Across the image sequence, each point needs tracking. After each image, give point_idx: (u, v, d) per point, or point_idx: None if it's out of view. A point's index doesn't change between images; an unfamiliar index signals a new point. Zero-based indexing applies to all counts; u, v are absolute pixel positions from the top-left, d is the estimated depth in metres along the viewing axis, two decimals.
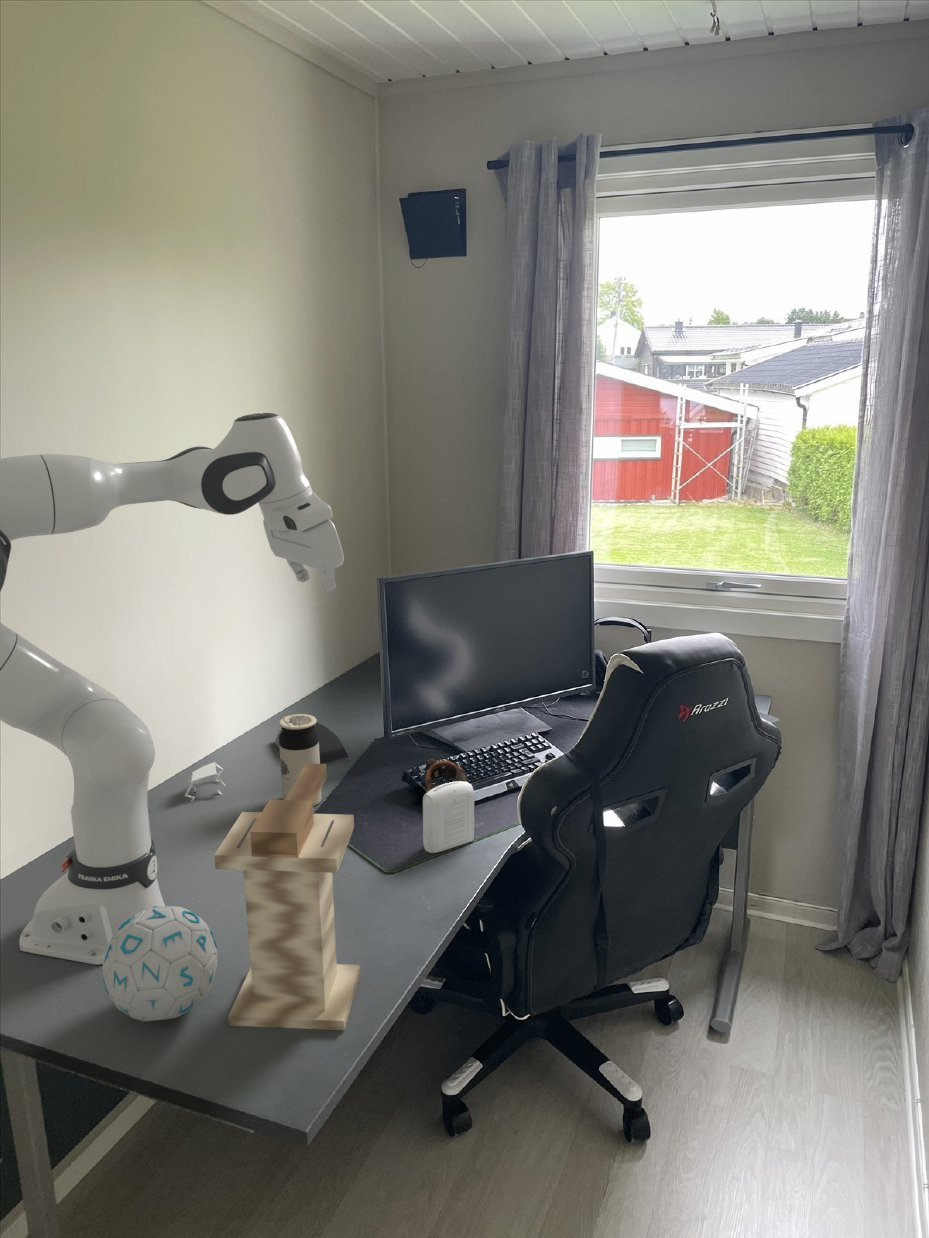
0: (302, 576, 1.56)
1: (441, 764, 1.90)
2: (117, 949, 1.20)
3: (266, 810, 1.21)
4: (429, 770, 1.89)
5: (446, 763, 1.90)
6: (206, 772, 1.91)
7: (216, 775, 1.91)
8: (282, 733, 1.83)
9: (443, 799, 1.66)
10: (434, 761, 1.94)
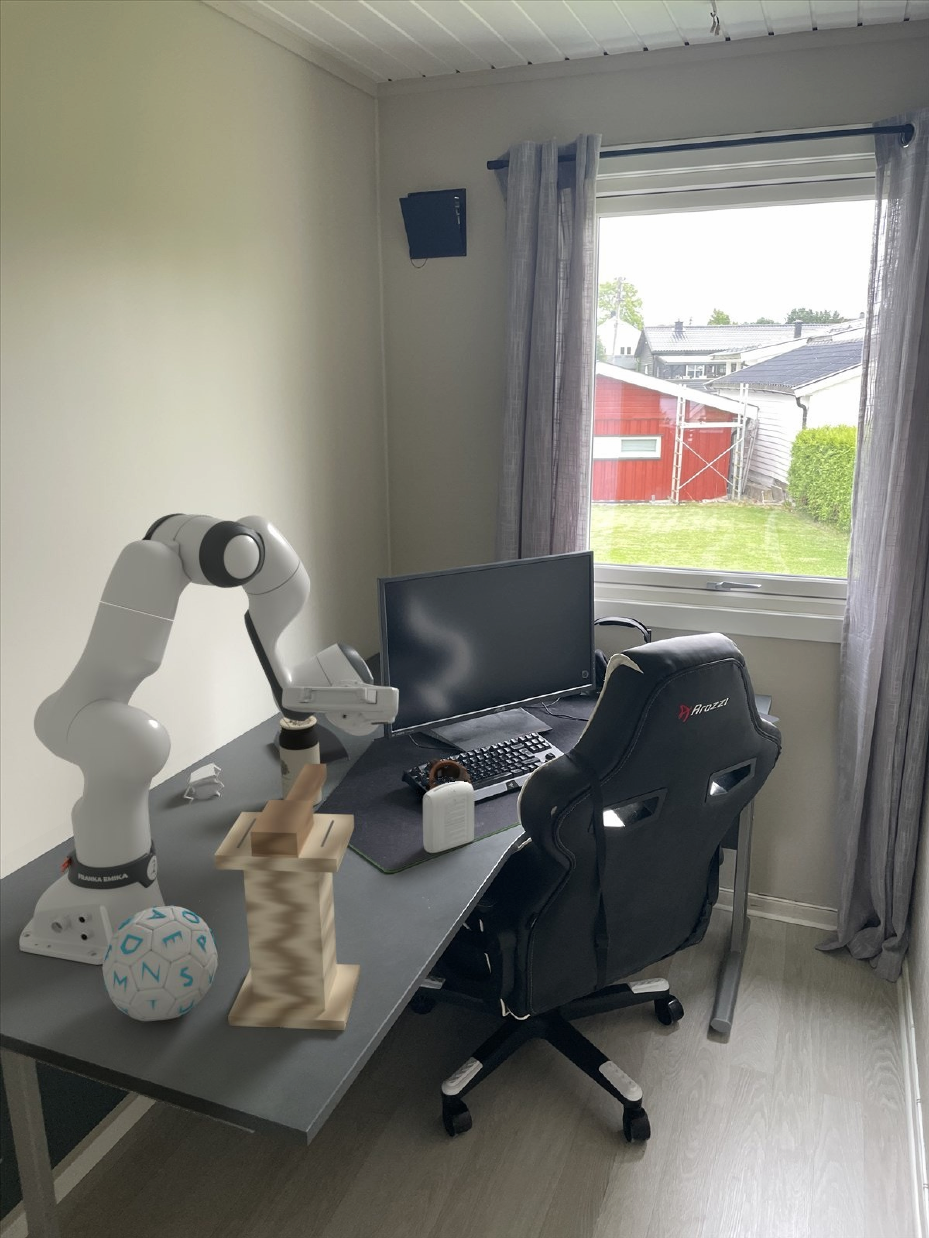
0: (310, 691, 1.52)
1: (444, 763, 1.91)
2: (117, 949, 1.20)
3: (266, 810, 1.21)
4: (432, 770, 1.90)
5: (449, 762, 1.90)
6: (204, 773, 1.91)
7: (215, 776, 1.90)
8: (282, 733, 1.83)
9: (443, 799, 1.66)
10: (437, 761, 1.94)
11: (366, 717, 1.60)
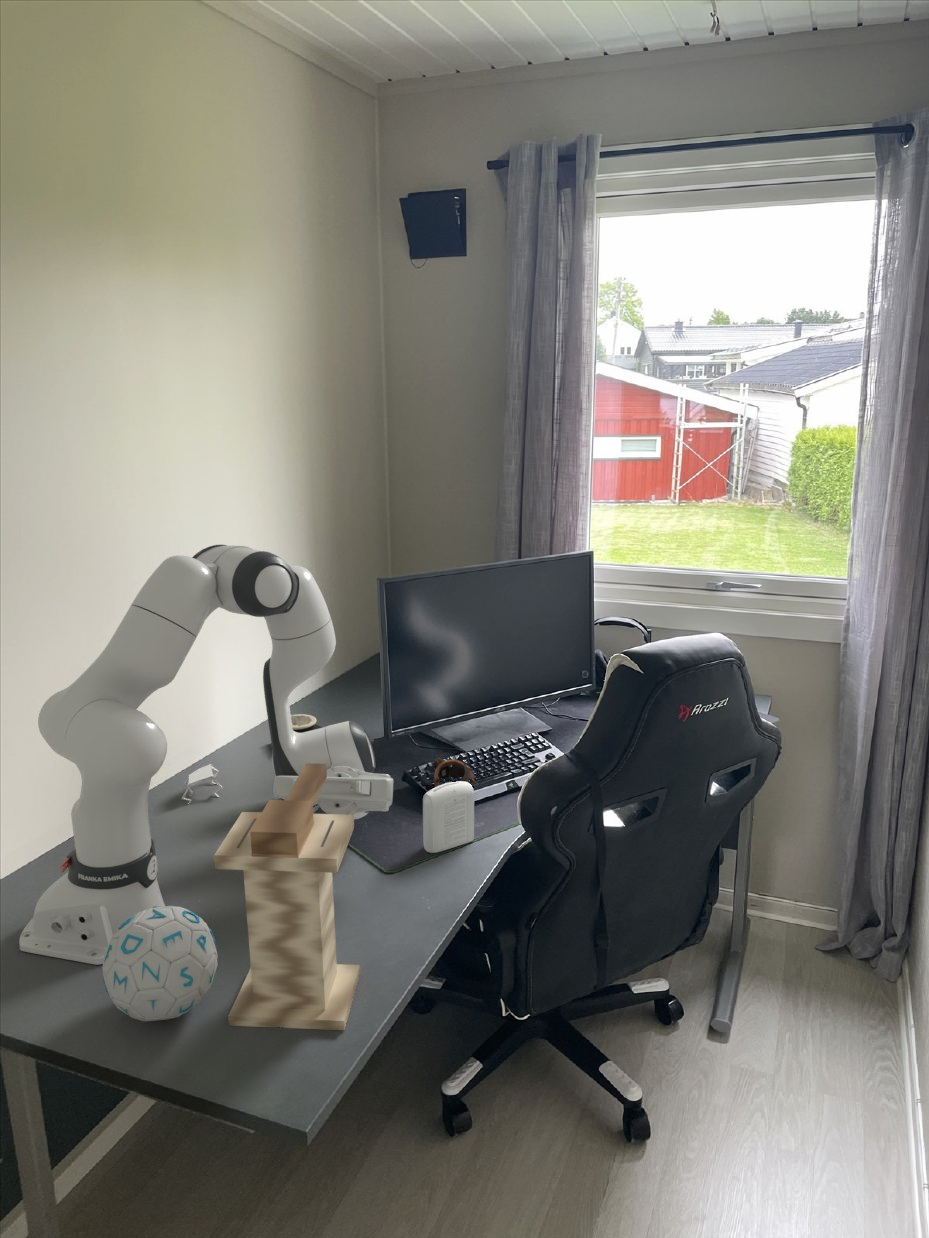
0: None
1: (449, 763, 1.91)
2: (117, 949, 1.20)
3: (266, 810, 1.21)
4: (437, 769, 1.90)
5: (454, 762, 1.91)
6: (203, 774, 1.90)
7: (213, 777, 1.90)
8: None
9: (443, 799, 1.66)
10: (441, 760, 1.94)
11: (360, 806, 1.56)
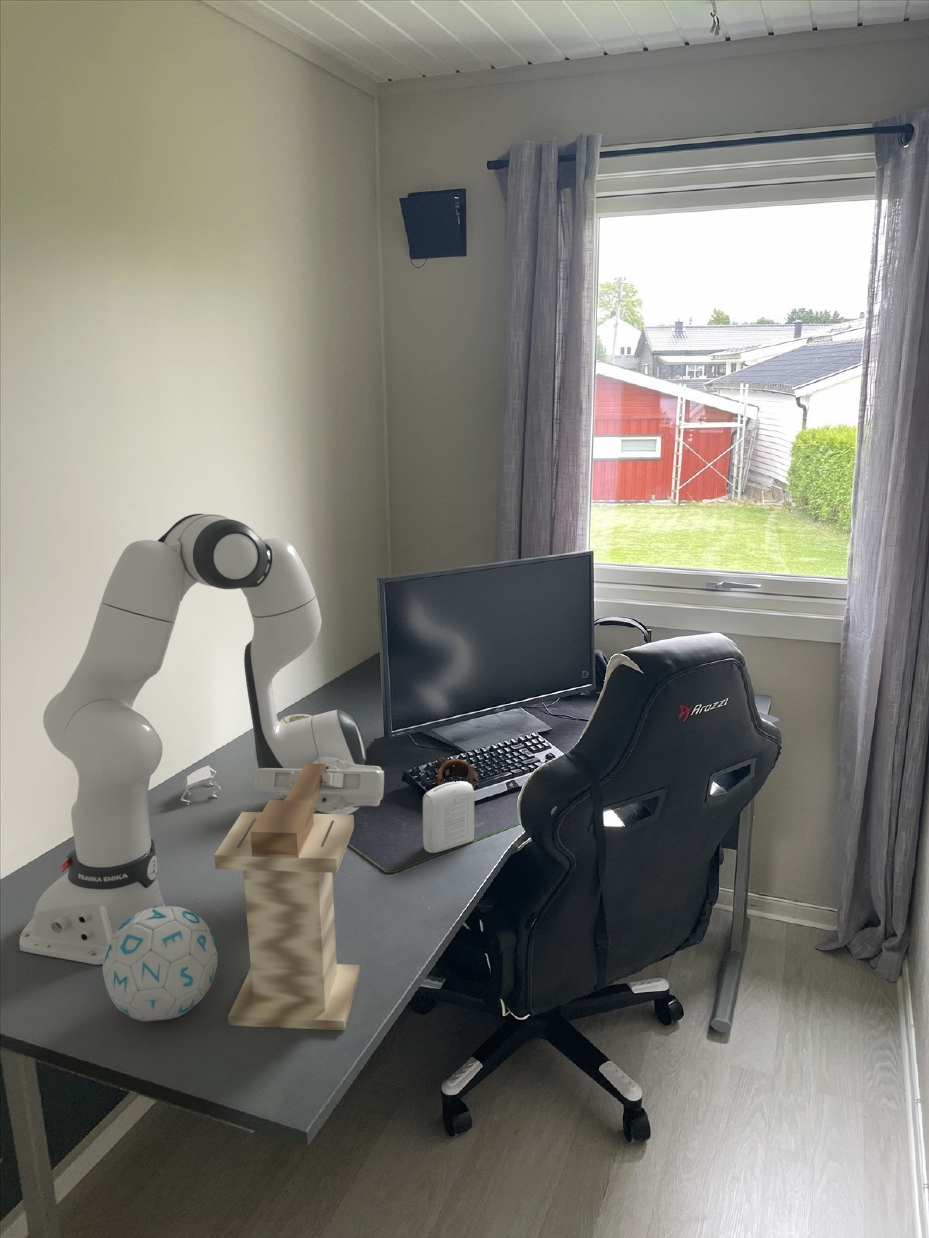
0: None
1: (452, 762, 1.91)
2: (117, 949, 1.20)
3: (266, 810, 1.21)
4: (441, 768, 1.90)
5: (457, 761, 1.91)
6: (201, 776, 1.89)
7: (211, 778, 1.89)
8: None
9: (443, 799, 1.66)
10: (445, 759, 1.94)
11: (348, 800, 1.45)
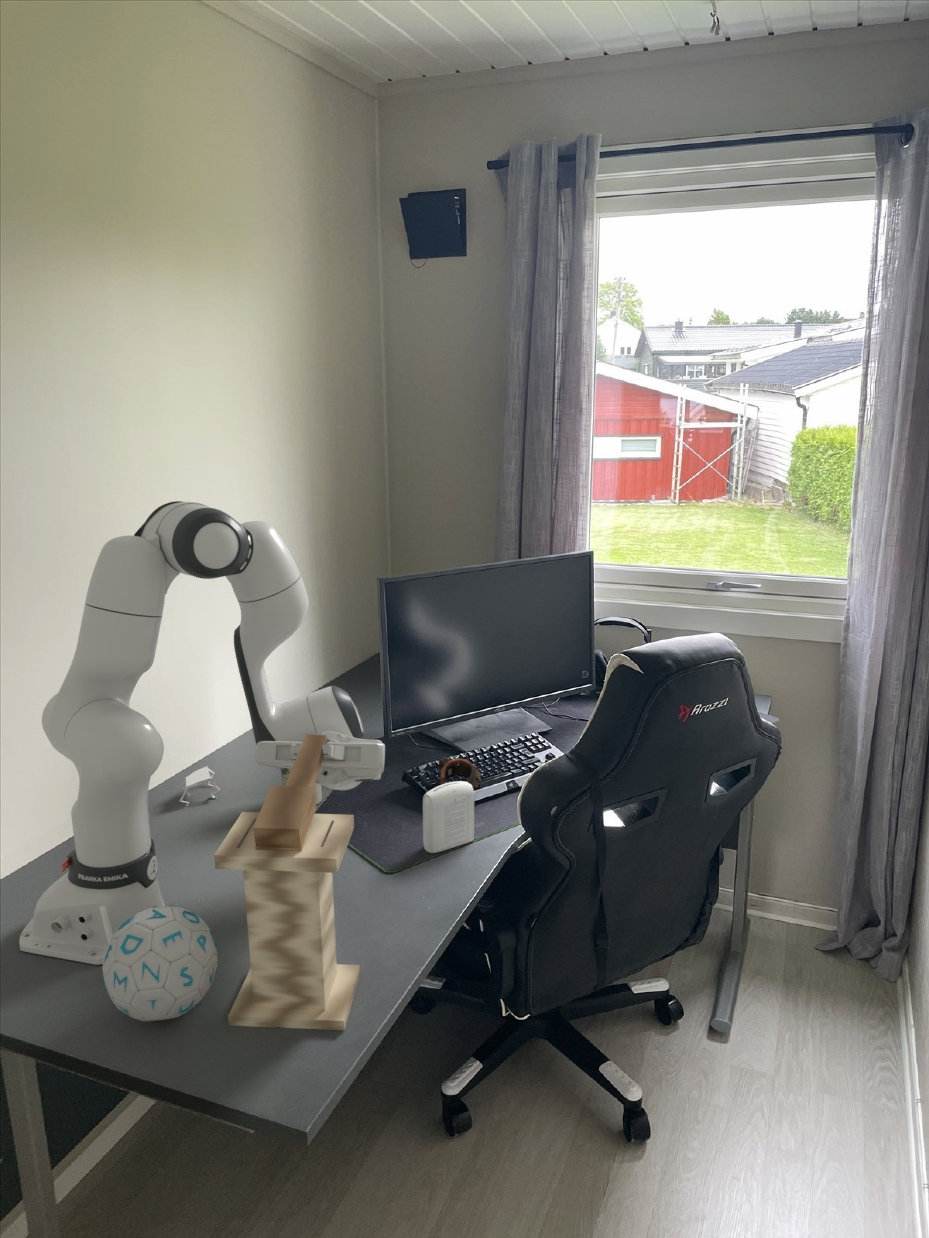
0: None
1: (455, 762, 1.91)
2: (117, 949, 1.20)
3: (268, 800, 1.22)
4: (444, 768, 1.90)
5: (460, 761, 1.91)
6: (200, 777, 1.89)
7: (210, 779, 1.89)
8: None
9: (443, 799, 1.66)
10: (447, 759, 1.95)
11: (349, 774, 1.45)
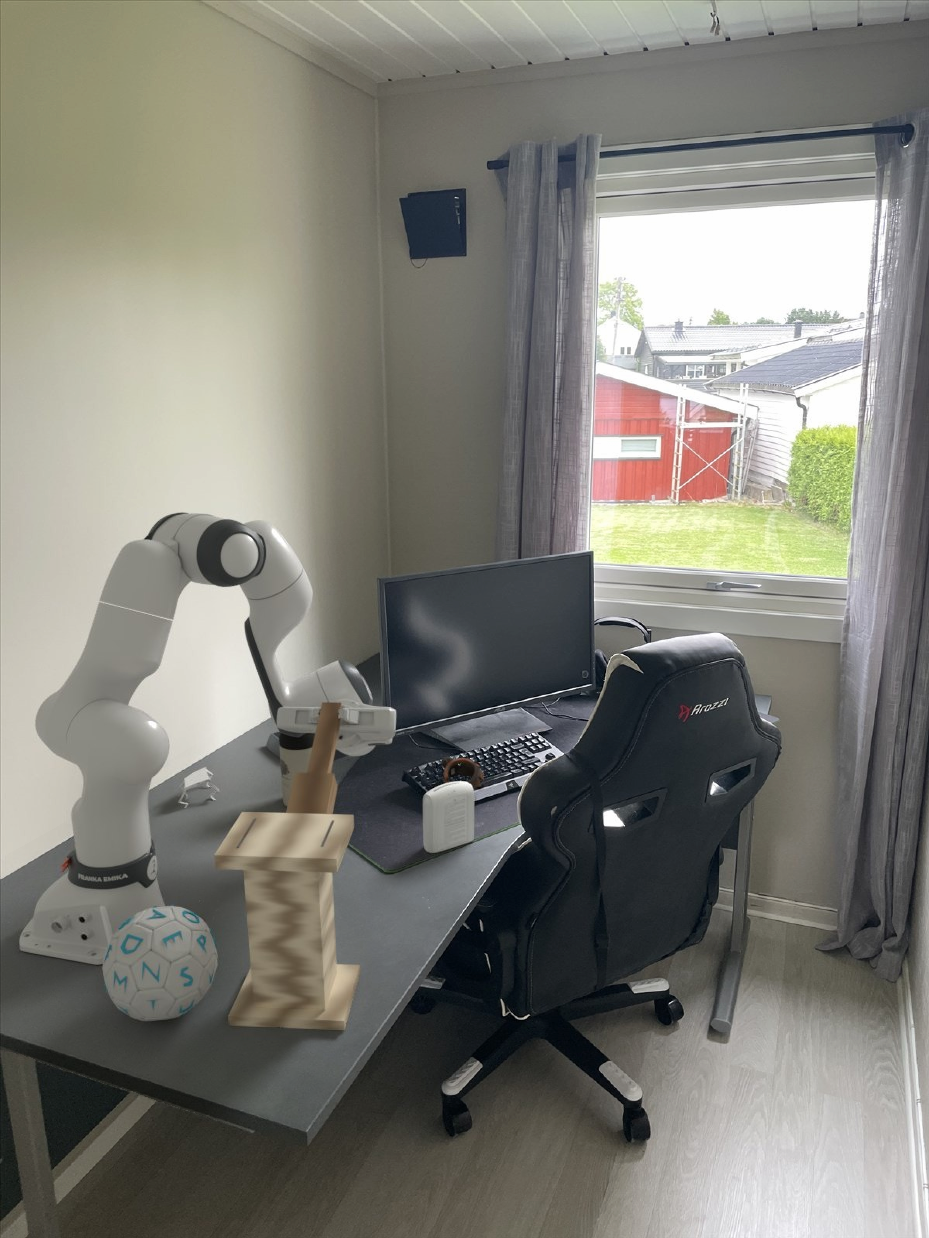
0: None
1: (458, 761, 1.92)
2: (117, 949, 1.20)
3: (294, 789, 1.36)
4: (447, 768, 1.91)
5: (463, 760, 1.91)
6: (198, 778, 1.89)
7: (209, 780, 1.88)
8: (282, 733, 1.83)
9: (443, 799, 1.66)
10: (450, 759, 1.95)
11: (363, 738, 1.57)
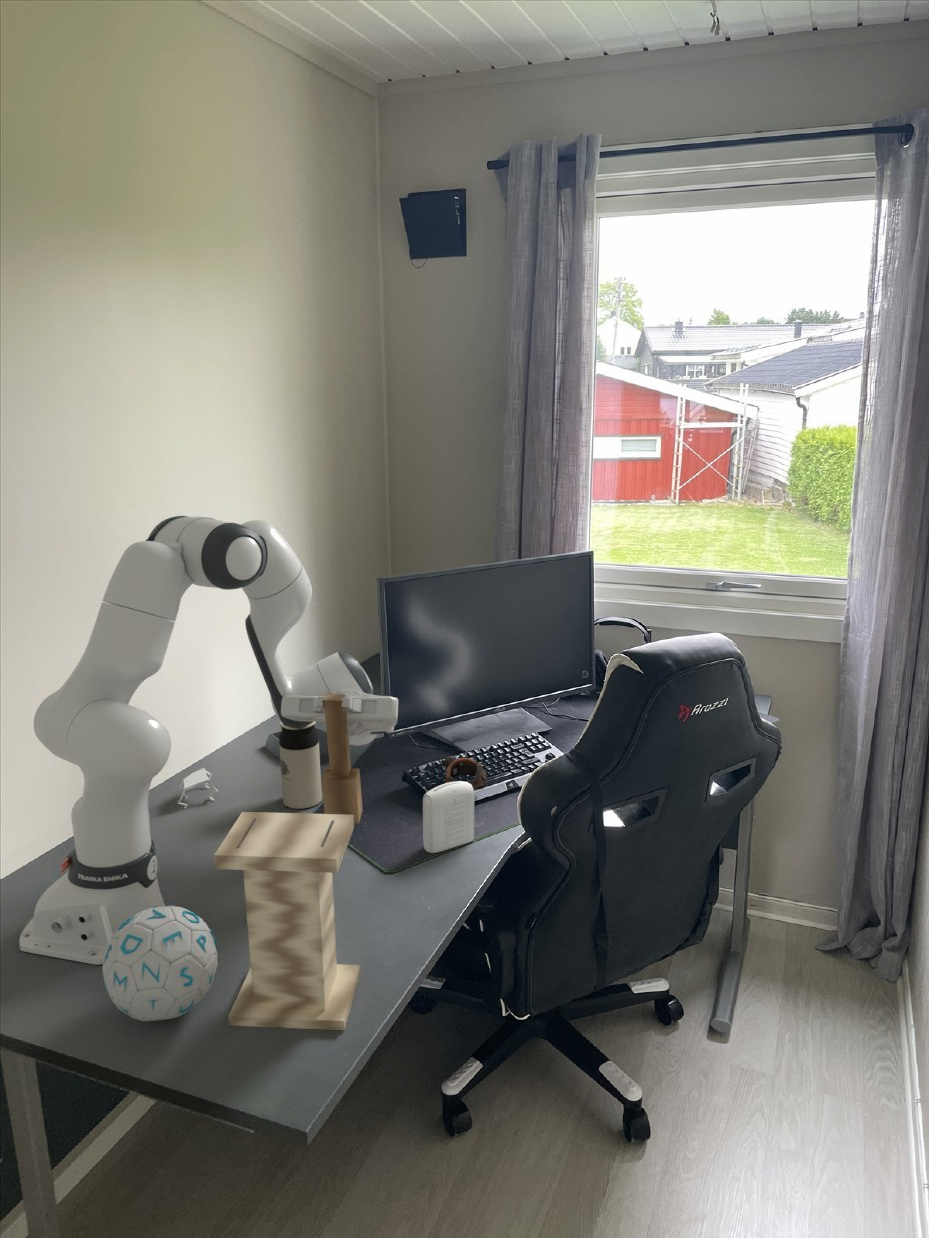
0: (323, 700, 1.51)
1: (460, 761, 1.92)
2: (117, 949, 1.20)
3: (325, 794, 1.57)
4: (449, 767, 1.91)
5: (466, 760, 1.92)
6: (197, 778, 1.88)
7: (208, 781, 1.88)
8: (282, 733, 1.83)
9: (443, 799, 1.66)
10: (453, 758, 1.95)
11: (365, 726, 1.60)
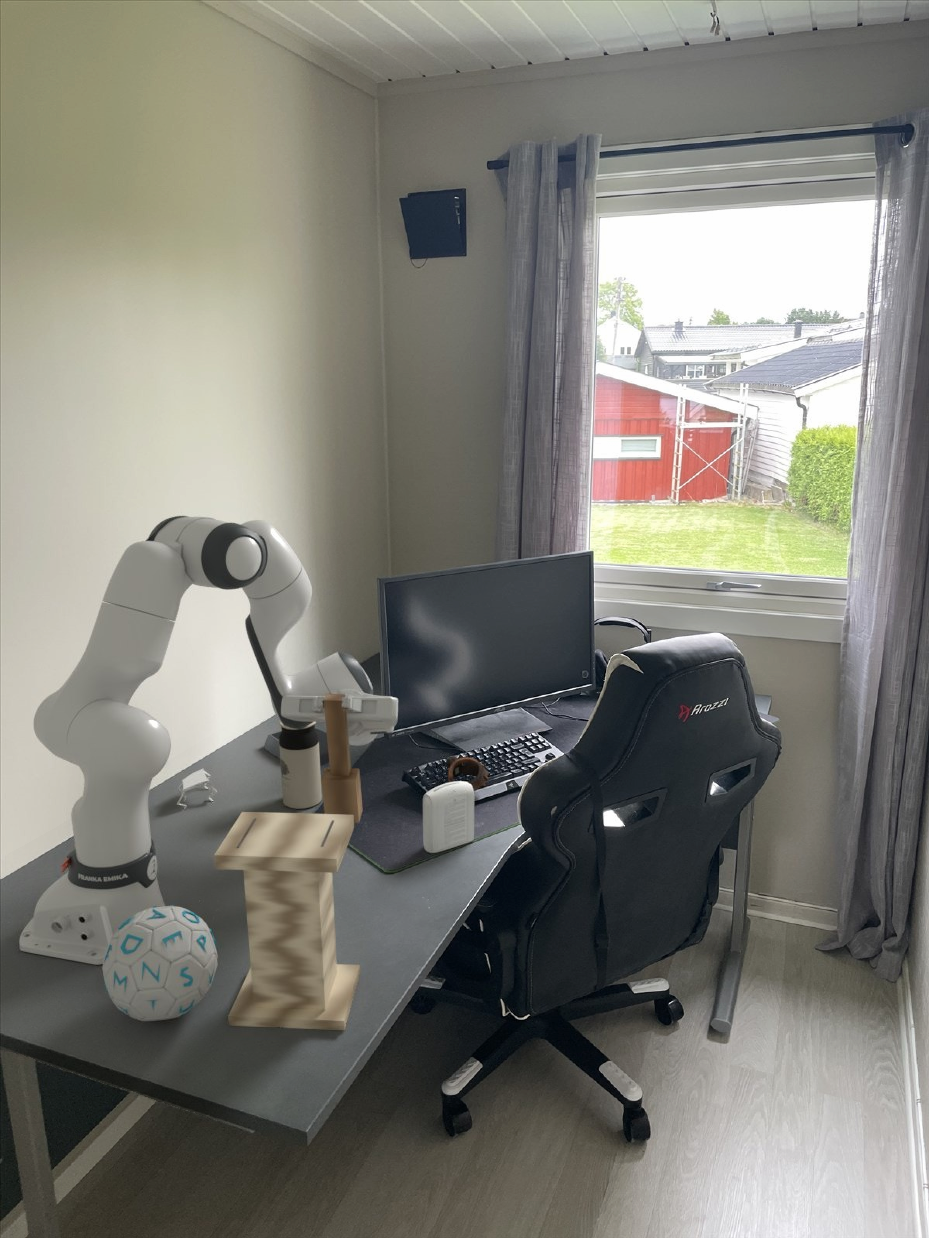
0: (323, 700, 1.51)
1: (463, 761, 1.92)
2: (117, 949, 1.20)
3: (325, 794, 1.57)
4: (451, 767, 1.91)
5: (468, 760, 1.92)
6: (197, 779, 1.88)
7: (207, 782, 1.88)
8: (282, 733, 1.83)
9: (443, 799, 1.66)
10: (455, 758, 1.95)
11: (365, 726, 1.60)
